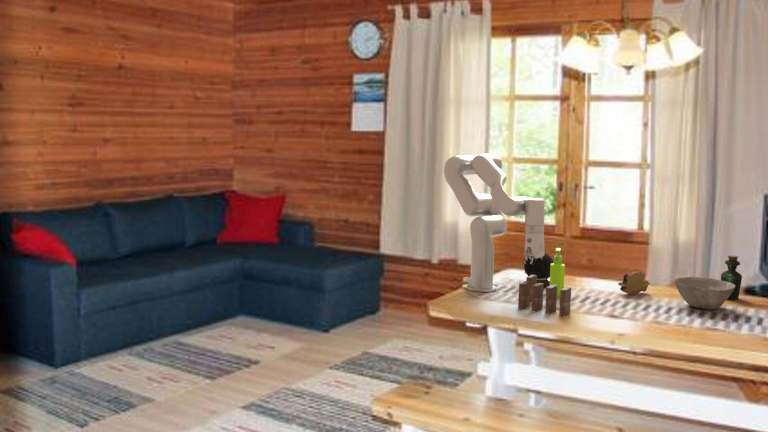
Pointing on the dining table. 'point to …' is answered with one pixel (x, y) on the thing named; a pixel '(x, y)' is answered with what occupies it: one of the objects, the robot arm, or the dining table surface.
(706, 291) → the ceramic bowl
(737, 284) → the potion bottle
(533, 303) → the domino
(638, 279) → the wooden carving
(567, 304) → the domino
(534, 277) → the domino
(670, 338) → the dining table surface
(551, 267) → the soap dispenser
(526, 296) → the domino
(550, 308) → the domino
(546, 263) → the black ball on stand
